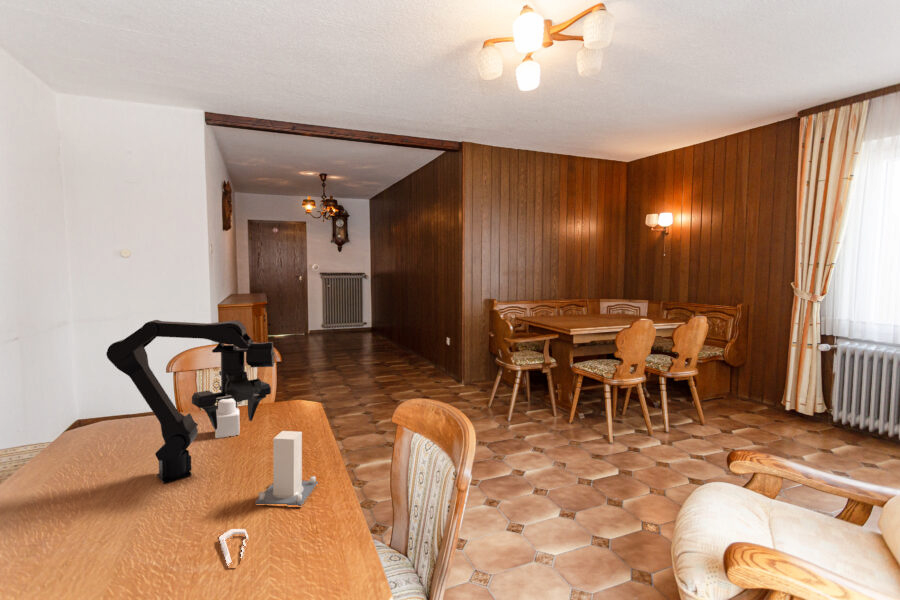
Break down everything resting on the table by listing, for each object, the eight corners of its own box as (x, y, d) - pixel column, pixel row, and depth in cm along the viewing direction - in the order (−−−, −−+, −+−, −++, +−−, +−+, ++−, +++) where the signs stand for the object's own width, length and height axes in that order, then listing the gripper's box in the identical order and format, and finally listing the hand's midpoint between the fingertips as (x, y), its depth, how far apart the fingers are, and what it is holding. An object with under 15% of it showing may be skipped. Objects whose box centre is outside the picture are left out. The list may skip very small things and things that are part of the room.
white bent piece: (257, 566, 85) (257, 558, 85) (228, 576, 82) (228, 568, 82) (243, 529, 96) (243, 522, 95) (217, 537, 93) (217, 529, 92)
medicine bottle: (216, 431, 150) (215, 396, 149) (239, 428, 153) (239, 394, 152) (214, 438, 143) (214, 402, 142) (239, 435, 146) (239, 400, 145)
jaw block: (293, 495, 107) (293, 439, 106) (273, 494, 107) (273, 438, 106) (301, 485, 112) (301, 431, 111) (282, 484, 112) (282, 430, 111)
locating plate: (301, 508, 104) (301, 497, 104) (255, 505, 105) (255, 494, 104) (318, 485, 115) (318, 475, 115) (276, 482, 116) (276, 473, 115)
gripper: (207, 379, 107) (208, 442, 108) (280, 367, 121) (280, 423, 122) (190, 371, 114) (191, 430, 115) (261, 361, 128) (261, 414, 129)
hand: (233, 424), depth 120 cm, fingers open, 9 cm apart
